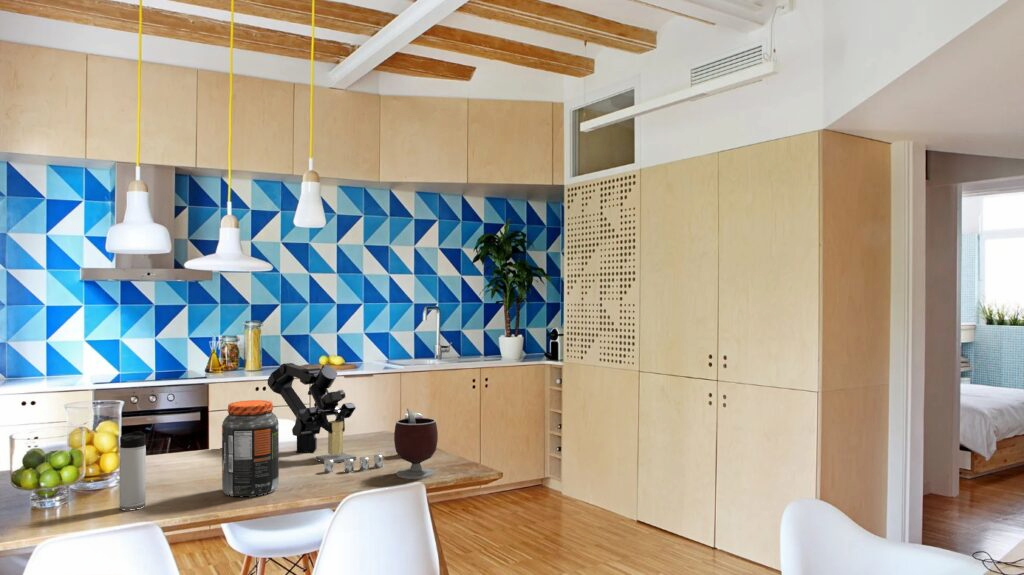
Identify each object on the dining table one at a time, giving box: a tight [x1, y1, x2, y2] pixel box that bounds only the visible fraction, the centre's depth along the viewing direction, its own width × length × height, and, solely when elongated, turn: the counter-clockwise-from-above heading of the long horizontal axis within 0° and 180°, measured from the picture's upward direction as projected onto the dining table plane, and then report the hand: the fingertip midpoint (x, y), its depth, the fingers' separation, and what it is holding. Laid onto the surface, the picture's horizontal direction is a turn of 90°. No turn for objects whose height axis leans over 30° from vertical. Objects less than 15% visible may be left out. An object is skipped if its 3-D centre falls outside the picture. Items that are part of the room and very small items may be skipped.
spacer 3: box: [359, 456, 370, 471], centre depth 244 cm, size 3×3×4 cm
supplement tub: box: [221, 399, 280, 498], centre depth 217 cm, size 16×16×26 cm
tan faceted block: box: [327, 420, 344, 455], centre depth 258 cm, size 4×5×11 cm
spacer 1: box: [323, 459, 335, 473], centre depth 240 cm, size 3×3×4 cm
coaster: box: [315, 452, 357, 464], centre depth 258 cm, size 10×10×1 cm
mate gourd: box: [393, 408, 439, 480], centre depth 238 cm, size 16×14×20 cm
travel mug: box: [118, 431, 147, 510], centre depth 200 cm, size 6×7×20 cm
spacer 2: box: [343, 458, 355, 473], centre depth 241 cm, size 3×3×4 cm
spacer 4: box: [373, 453, 384, 469], centre depth 247 cm, size 3×3×4 cm
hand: (337, 432), depth 257 cm, fingers closed on tan faceted block, 4 cm apart
